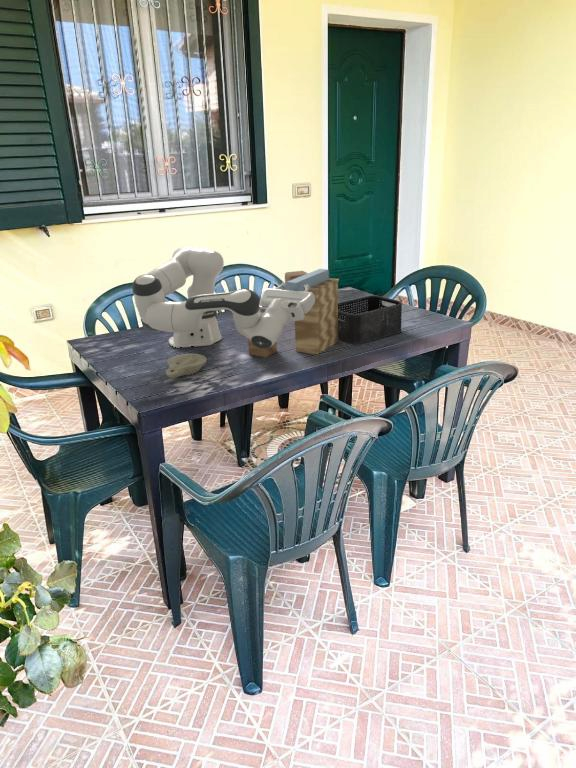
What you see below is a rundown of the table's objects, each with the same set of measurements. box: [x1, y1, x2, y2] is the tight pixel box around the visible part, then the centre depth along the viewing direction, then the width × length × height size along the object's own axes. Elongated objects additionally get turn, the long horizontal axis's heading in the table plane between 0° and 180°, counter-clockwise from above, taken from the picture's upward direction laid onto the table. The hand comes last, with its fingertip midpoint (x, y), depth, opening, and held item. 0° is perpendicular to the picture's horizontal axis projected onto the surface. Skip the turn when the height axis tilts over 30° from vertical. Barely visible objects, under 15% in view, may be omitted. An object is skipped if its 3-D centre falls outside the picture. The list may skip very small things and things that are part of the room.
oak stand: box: [294, 277, 340, 355], centre depth 229 cm, size 19×11×26 cm, turn 150°
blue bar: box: [287, 268, 330, 291], centre depth 218 cm, size 26×4×4 cm, turn 150°
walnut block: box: [247, 338, 278, 358], centre depth 227 cm, size 8×8×8 cm
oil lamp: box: [165, 353, 208, 379], centre depth 208 cm, size 21×14×5 cm
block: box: [284, 270, 309, 290], centre depth 278 cm, size 10×10×20 cm
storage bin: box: [338, 295, 403, 345], centre depth 244 cm, size 29×19×13 cm
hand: (296, 284), depth 210 cm, fingers open, 8 cm apart
